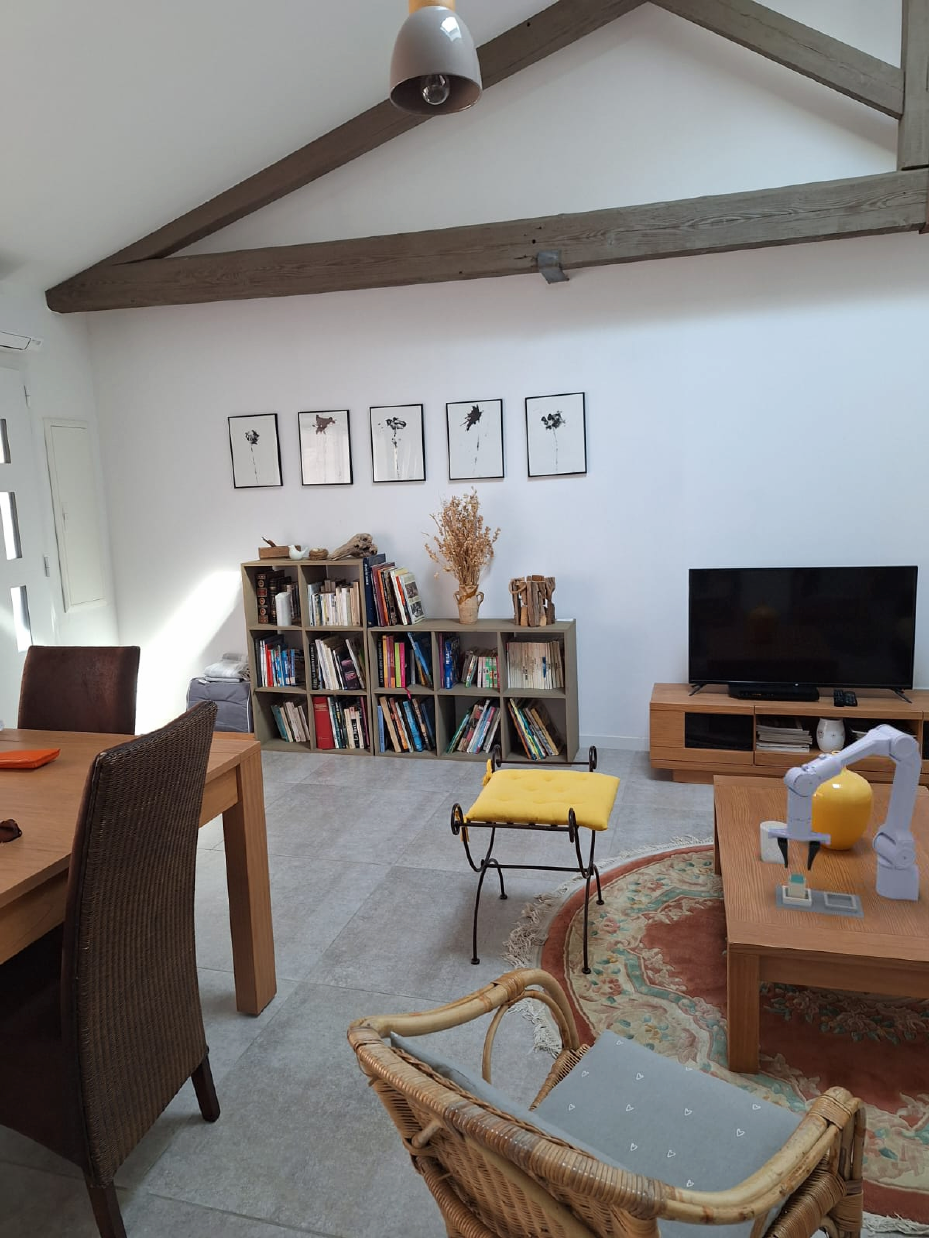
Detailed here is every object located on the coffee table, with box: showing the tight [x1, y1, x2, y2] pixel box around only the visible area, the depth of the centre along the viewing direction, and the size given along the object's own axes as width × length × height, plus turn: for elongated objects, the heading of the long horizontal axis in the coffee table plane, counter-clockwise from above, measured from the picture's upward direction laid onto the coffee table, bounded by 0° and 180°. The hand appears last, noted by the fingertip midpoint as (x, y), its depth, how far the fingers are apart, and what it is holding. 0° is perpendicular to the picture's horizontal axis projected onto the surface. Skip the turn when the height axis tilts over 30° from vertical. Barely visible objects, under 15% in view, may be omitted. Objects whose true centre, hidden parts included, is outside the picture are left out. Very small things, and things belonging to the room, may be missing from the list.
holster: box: [823, 891, 857, 913], centre depth 210 cm, size 7×7×1 cm
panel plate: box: [774, 885, 865, 919], centre depth 212 cm, size 20×12×1 cm, turn 71°
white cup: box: [759, 820, 790, 865], centre depth 237 cm, size 8×8×10 cm
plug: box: [787, 872, 807, 899], centre depth 213 cm, size 4×4×6 cm
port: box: [782, 885, 812, 907], centre depth 213 cm, size 7×7×2 cm
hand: (797, 867), depth 212 cm, fingers open, 5 cm apart
